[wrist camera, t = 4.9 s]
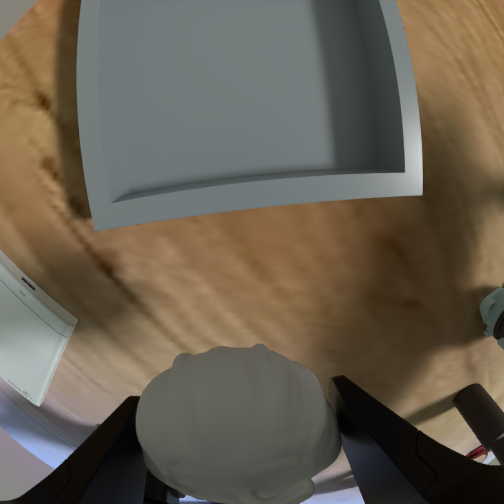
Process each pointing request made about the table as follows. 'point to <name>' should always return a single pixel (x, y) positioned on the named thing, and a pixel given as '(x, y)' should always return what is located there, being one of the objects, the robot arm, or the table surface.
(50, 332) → the hard drive
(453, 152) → the table surface
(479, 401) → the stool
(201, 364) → the garlic
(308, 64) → the tray
